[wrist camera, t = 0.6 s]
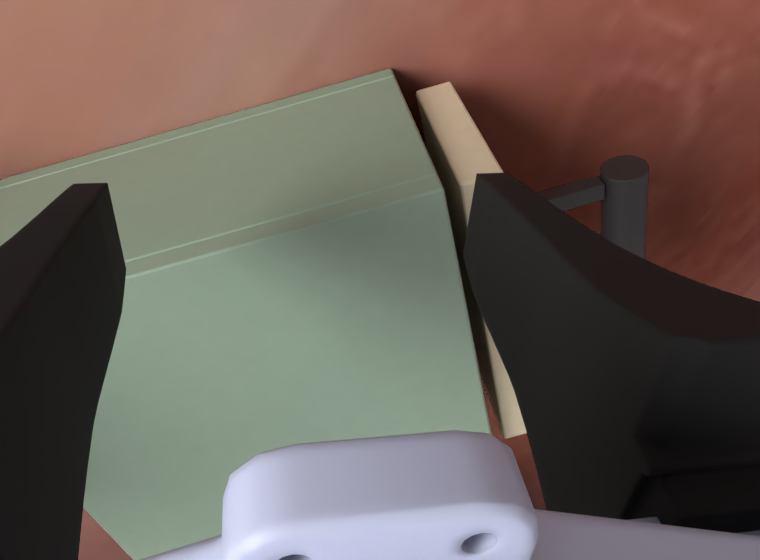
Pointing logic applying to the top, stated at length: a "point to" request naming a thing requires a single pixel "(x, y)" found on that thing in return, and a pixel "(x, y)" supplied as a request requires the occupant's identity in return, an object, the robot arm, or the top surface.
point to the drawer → (472, 155)
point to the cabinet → (266, 299)
